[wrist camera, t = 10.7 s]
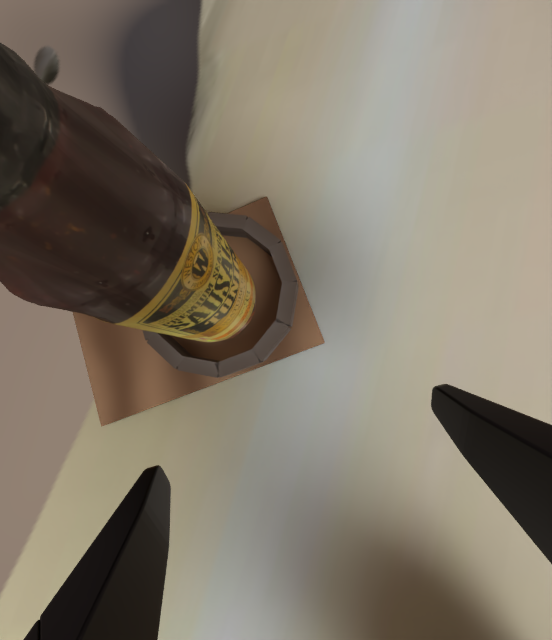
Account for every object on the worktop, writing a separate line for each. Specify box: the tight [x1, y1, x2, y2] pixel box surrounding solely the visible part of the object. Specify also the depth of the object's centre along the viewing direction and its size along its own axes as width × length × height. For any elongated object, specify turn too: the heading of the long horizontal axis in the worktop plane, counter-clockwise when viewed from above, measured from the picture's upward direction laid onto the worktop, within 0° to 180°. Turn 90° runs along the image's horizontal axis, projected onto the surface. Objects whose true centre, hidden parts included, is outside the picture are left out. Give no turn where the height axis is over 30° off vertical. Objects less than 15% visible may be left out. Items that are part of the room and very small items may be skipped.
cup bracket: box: [73, 197, 325, 426], centre depth 21 cm, size 18×12×2 cm, turn 111°
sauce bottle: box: [0, 43, 256, 342], centre depth 11 cm, size 6×6×20 cm
